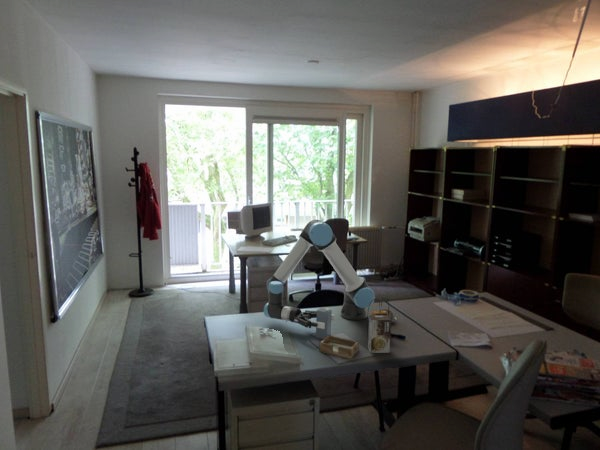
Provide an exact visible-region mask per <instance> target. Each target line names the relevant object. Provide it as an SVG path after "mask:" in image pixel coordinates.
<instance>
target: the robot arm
mask: <svg viewBox="0 0 600 450" xmlns="http://www.w3.org/2000/svg"><path fill="white" fill-rule="evenodd" d="M298 237H299V239H298V240H297V241H296V243H294V245H293V247H292V249H291V250H290V251H289V252H288V254H287V256H285V258H284V259H283V261H282V262H281V264H280V265H279V267H278V268H277V270H275V272H274V274H273V275H272V276H271V277H270V278H269V279H267V281H266V284H265V285H266V289H267V293H268V302H266V303H265V305H264V307H263V314H264V316H265V317H267V318H271V319H273V320H274V319H275V320H282V321H285V322H286V323H287V322H291V323H295V324H299V325H301V326H303V327H304V328H307V329H311V328H312V327H313V328H316V327H317V328H322V329H324V328H325V323H322V322H316V321H315V320H311V319H315V318H317V310H308V309H307V310H306V309H305V310H304V311H302V310H301V308H299V307H295V306H294V307H293V306H290V305H289V306H288V305H284V284H285V283H286V282H287V280H288V279H289V277H290V276H291V275H292V273H293V272H294V270H295V269H296V268H297V266H298V264H300V261H302V259H303V258H304V256H305V255H306V253H307V252H308V251H309V249H310V247H313V246H314V247H315V248H316V249H317V252H322V254H323V255H324V256H325V258H326V259H327V260H328V262H329V264H330V265H331V266H332V267H333V269H334V271H335V272H336V273H337V275H338V277H339V278H340V279H341V281H342V282H343V284H344V291H343V292H344V297H343V304H342V306H341V309H340V316H341V318H344V319H347V320H350V321H351V320H352V321H360V320H361V321H362V320H364V319H367V314H368V311H367V308H370V307H371V306H372V305H373V303H374V302H375V300H373V299H376V295H375V292H374V289H372V288H370V285H368V283H367V282H366V278H365V277H363V276H359V275H358V273H357V272H356V271H355V269H354V268H353V265H352V264H351V263H350V261H349V259H348V258H347V257H346V255H345V254H344V253H343V250H341V248H340V247H339V245H338V244H337V237H336V236H335V234H334V233H333V230H332V228H331V226H330V225H329V224H328V223H326V222H325V221H322V220H321V219H312V220H310V221H309V222H307V224H306V225H305V226H304V228H303V229H302V231H301V233H300V234H299V236H298ZM371 301H372V302H371ZM370 302H371V303H370ZM369 305H370V306H369ZM335 320H336V314H333V313H332V315H331V321H335Z"/></svg>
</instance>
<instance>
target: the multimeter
mask: <svg viewBox="0 0 600 450" xmlns="http://www.w3.org/2000/svg"><path fill="white" fill-rule="evenodd" d="M383 299H384V300H386V301H387V303H388V305H390V303H389V300H388V299H387V298H385V297H383V298H381V302H380V300H379V299H377V298H375V299H373V300H374V301H375V300H377V301H378V303H379V305H378V310H377V311H376V310H374V311H372V314H371V315H388V316H390V315H389V313H390V311H389V310H390V306H388V311H386V310H383V309H382V308H383V305H382V304H383ZM371 302H372V301H371ZM371 302H370V303H371ZM370 307H371V306H370V305H369V307H367V308H368V309H367V311H369V310H370ZM366 321H367V322H366V327H367V328H366V332H367V338H368V337H369V313H367V317H366ZM391 331H392V329H391V330H390V334H392V332H391ZM393 338H394V336H393V337H392V336H391V339H393Z"/></svg>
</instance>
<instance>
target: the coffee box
mask: <svg viewBox="0 0 600 450" xmlns="http://www.w3.org/2000/svg"><path fill="white" fill-rule="evenodd" d="M389 316H390V315H389ZM389 316H388V315H372V314H371V315H369V314H368V337H367V341H368V343H367V349H368V351H369V353H371V354H382V353H383V354H385V353H386V354H390V350H391V333H390V330H391V331H392V329H391V326H392V323H391V322H392V320H391V319H392V318H390V317H389Z"/></svg>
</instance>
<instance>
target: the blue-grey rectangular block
mask: <svg viewBox="0 0 600 450" xmlns="http://www.w3.org/2000/svg"><path fill="white" fill-rule="evenodd" d="M316 311H317V318H316V322H322V323H325V328H324V329H322V328H317V327H315V332H314V333H312V337H315V338H317V339H320V340H321V339H322V340H323V339H325V338H326V337H327V336H333V335H332V320H331V315H332V314H333V313H332V311H333V310H332V309H330V308H327V307H326V308H325V307H319V308H318V309H317V310H316Z"/></svg>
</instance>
